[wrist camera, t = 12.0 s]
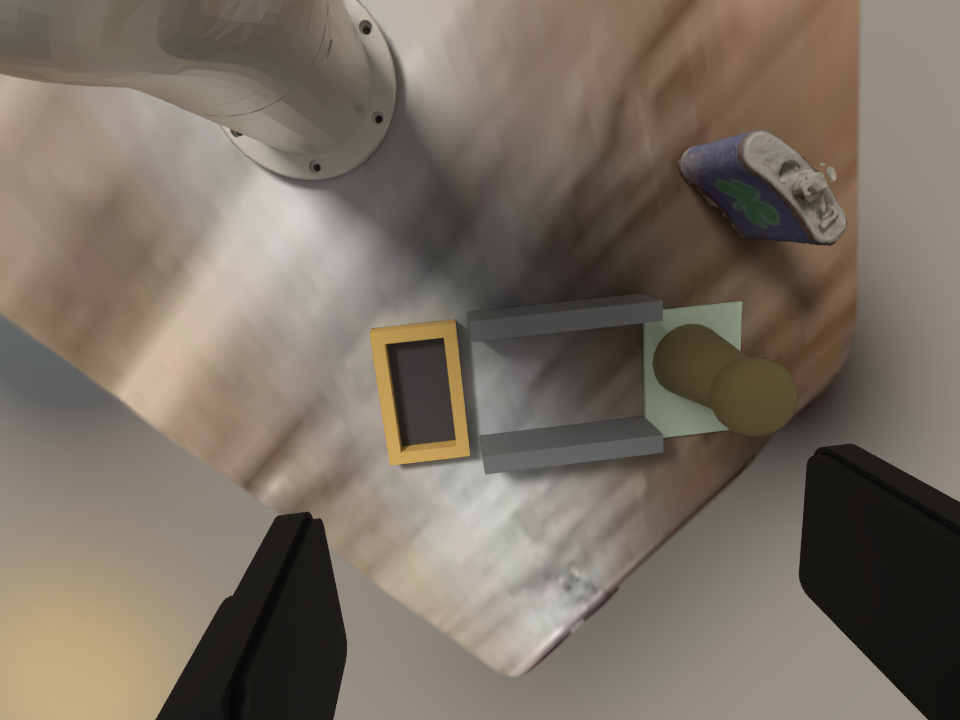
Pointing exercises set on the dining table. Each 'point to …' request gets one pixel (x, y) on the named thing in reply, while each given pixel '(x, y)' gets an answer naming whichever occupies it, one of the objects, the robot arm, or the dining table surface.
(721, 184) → the flask
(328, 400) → the dining table surface
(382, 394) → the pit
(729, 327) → the mat
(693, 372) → the cork
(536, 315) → the grey parallel walls
